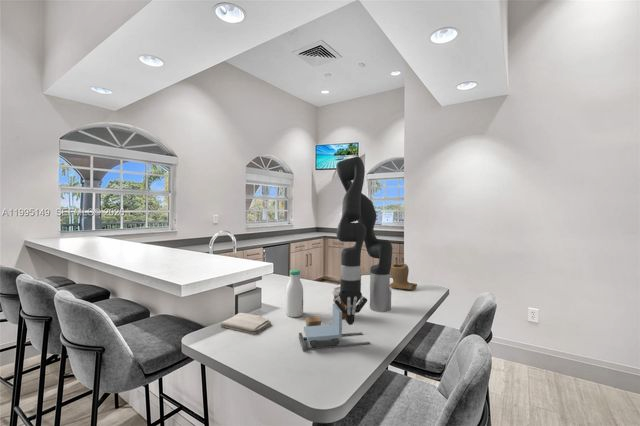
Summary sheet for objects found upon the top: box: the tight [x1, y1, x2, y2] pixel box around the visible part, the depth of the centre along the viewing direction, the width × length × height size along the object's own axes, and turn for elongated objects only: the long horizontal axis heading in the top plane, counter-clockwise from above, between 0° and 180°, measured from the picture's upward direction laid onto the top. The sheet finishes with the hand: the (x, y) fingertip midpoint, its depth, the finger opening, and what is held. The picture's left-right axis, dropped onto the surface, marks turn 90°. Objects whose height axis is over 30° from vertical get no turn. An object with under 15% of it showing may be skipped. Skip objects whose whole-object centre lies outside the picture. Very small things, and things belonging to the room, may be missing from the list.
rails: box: [298, 331, 371, 352], centre depth 109 cm, size 24×10×2 cm, turn 102°
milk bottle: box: [285, 269, 304, 318], centre depth 134 cm, size 8×8×20 cm
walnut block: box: [305, 315, 322, 327], centre depth 117 cm, size 5×5×5 cm
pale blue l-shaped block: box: [303, 302, 343, 347], centre depth 108 cm, size 12×9×12 cm
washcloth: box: [220, 312, 272, 335], centre depth 122 cm, size 12×18×3 cm, turn 67°
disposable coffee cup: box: [332, 286, 346, 320], centre depth 133 cm, size 10×10×12 cm
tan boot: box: [390, 262, 418, 291], centre depth 177 cm, size 15×12×15 cm
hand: (350, 323), depth 110 cm, fingers closed
